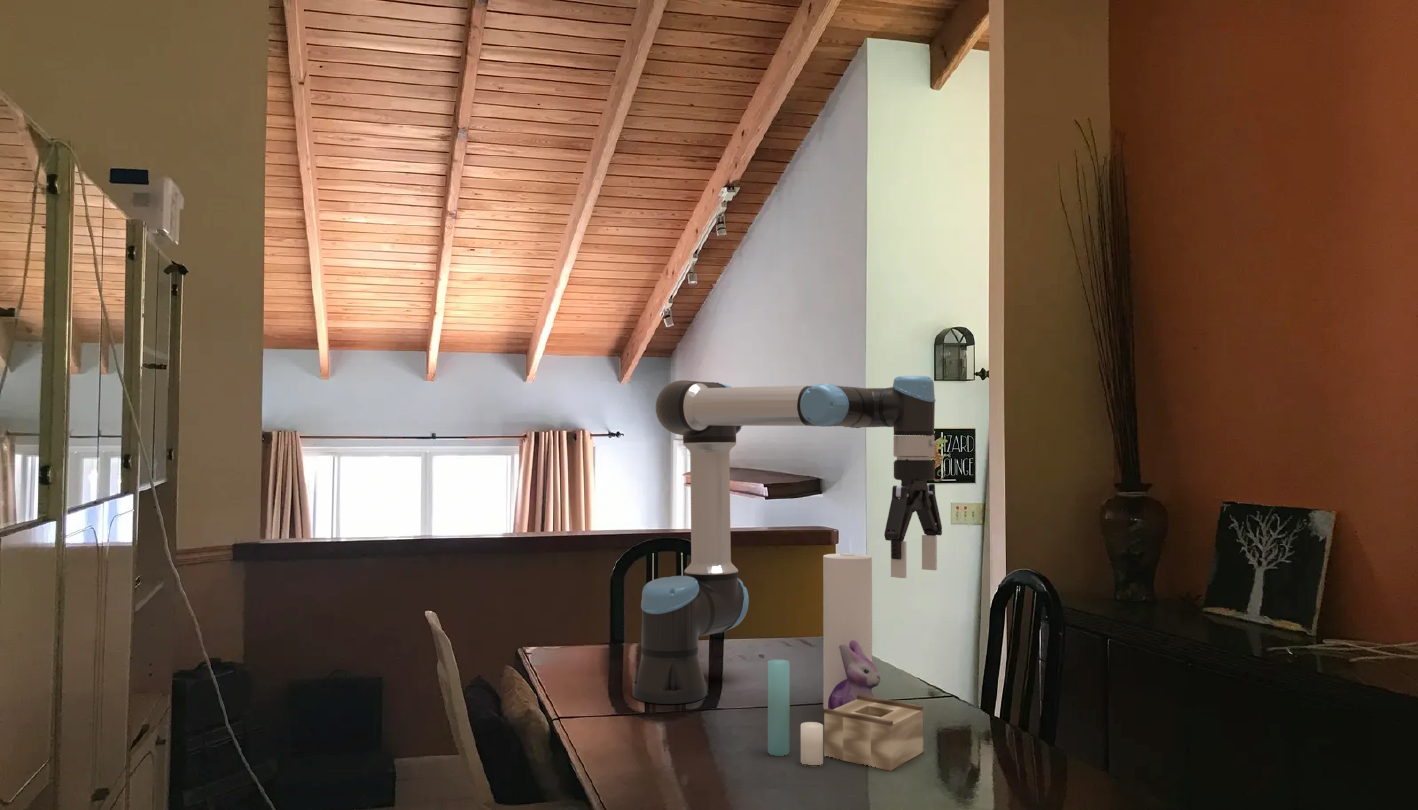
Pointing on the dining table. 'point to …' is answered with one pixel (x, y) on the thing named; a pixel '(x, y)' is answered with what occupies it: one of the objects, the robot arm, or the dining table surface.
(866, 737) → the socket block
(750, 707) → the dining table surface
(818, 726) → the cream peg
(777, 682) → the teal peg
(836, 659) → the cylinder container
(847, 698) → the figurine
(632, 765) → the dining table surface
